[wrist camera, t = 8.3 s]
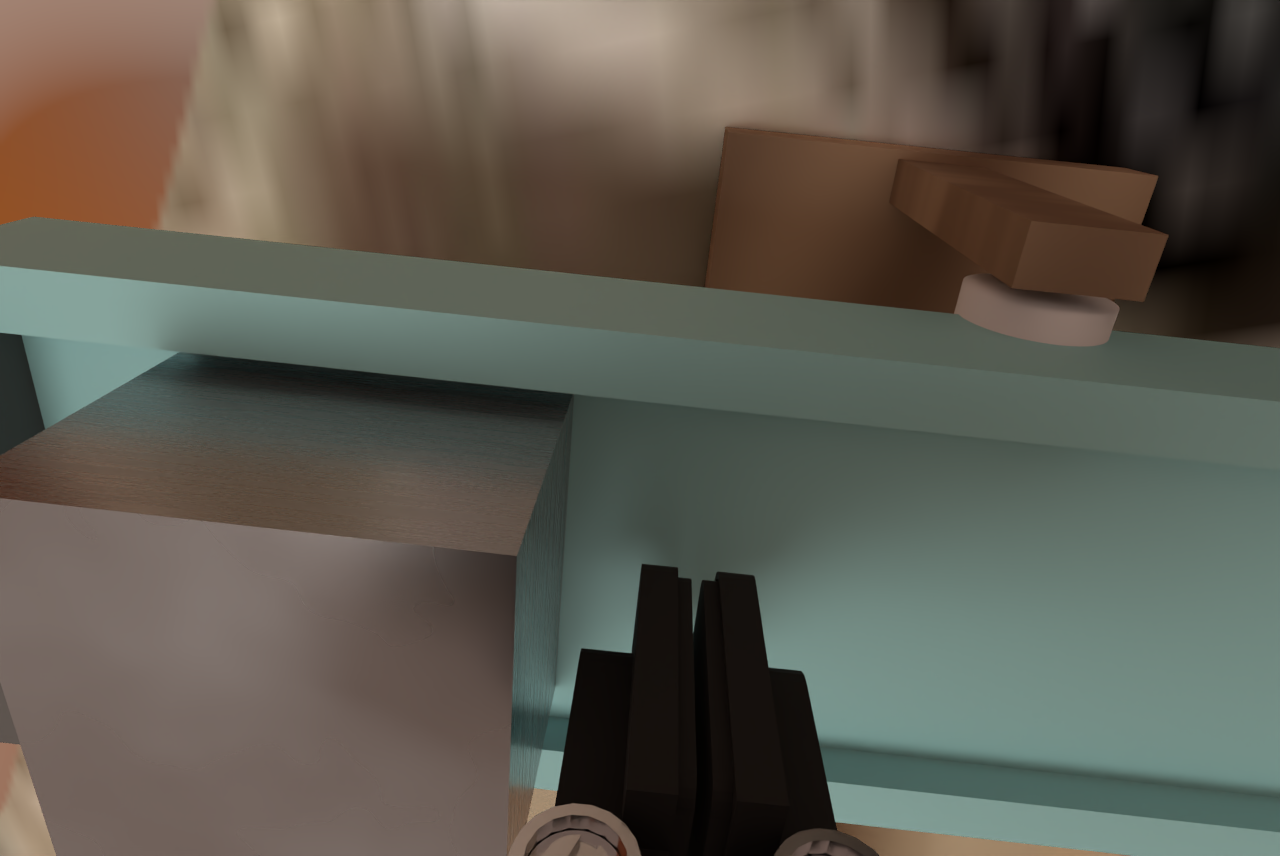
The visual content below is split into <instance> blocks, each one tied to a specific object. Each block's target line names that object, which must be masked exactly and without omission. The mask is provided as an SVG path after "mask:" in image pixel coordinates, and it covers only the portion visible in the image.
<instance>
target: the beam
mask: <svg viewBox="0 0 1280 856" xmlns="http://www.w3.org/2000/svg"><path fill="white" fill-rule="evenodd" d="M1118 313H1119V306H1118V305H1117V304H1116V303H1114V302H1113V301H1111V300H1109V299H1107V298H1102V297H1092V296H1082V295H1072V294H1063V293H1053V292H1043V291H1033V290H1024V289H1014V288H1010V287H1009V286H1007V285H1006V284H1005V283H1003V282H1002V281H1000V280H999V279H997V278H996V277H995V276H993V275H992V274H973V275H969V276H966V277H965V278H964V279H963V282H962V286H961V289H960V293H959V297H958V300H957V304H956V308H955V311H954V314H951V313H941V312H932V311H922V310H913V309H903V308H894V307H885V306H875V305H866V304H856V303H847V302H837V301H828V300H818V299H809V298H799V297H790V296H780V295H771V294H761V293H752V292H742V291H733V290H723V289H714V288H704V287H695V286H685V285H676V284H667V283H657V282H648V281H638V280H629V279H619V278H610V277H600V276H591V275H581V274H572V273H562V272H553V271H543V270H534V269H524V268H515V267H505V266H496V265H486V264H477V263H467V262H458V261H449V260H439V259H430V258H420V257H411V256H401V255H392V254H382V253H373V252H363V251H354V250H344V249H335V248H325V247H316V246H306V245H297V244H287V243H278V242H268V241H259V240H250V239H240V238H231V237H221V236H212V235H202V234H193V233H183V232H174V231H164V230H155V229H144V228H136V227H126V226H117V225H107V224H98V223H88V222H79V221H69V220H60V219H50V218H40V217H31V218H27V219H23V220H19V221H14V222H10V223H6V224H2V225H0V455H2V454H4V453H5V452H7V451H9V450H11V449H12V448H14V447H16V446H17V445H19V444H21V443H23V442H24V441H26V440H28V439H30V438H31V437H33V436H35V435H37V434H38V433H40V432H42V431H43V430H45V429H47V428H49V427H50V426H52V425H54V424H56V423H57V422H59V421H61V420H63V419H64V418H66V417H68V416H69V415H71V414H73V413H75V412H76V411H78V410H80V409H82V408H83V407H85V406H87V405H88V404H90V403H92V402H94V401H95V400H97V399H99V398H101V397H102V396H104V395H106V394H108V393H109V392H111V391H113V390H114V389H116V388H118V387H120V386H121V385H123V384H125V383H127V382H128V381H130V380H132V379H134V378H135V377H137V376H139V375H140V374H142V373H144V372H146V371H147V370H149V369H151V368H153V367H154V366H156V365H158V364H159V363H161V362H163V361H165V360H166V359H168V358H170V357H172V356H173V355H175V354H177V353H179V352H186V353H195V354H205V355H214V356H223V357H233V358H242V359H251V360H261V361H270V362H279V363H289V364H298V365H307V366H317V367H326V368H335V369H345V370H354V371H363V372H373V373H382V374H391V375H400V376H410V377H419V378H428V379H438V380H447V381H456V382H466V383H475V384H484V385H494V386H503V387H512V388H522V389H531V390H540V391H550V392H559V393H568V394H574V405H573V421H572V436H571V452H570V467H569V483H568V499H567V514H566V530H565V545H564V561H563V576H562V592H561V607H560V623H559V638H558V654H557V670H556V685H555V691H554V696H553V701H552V705H551V710H550V715H549V720H548V724H547V729H546V734H545V738H544V743H543V748H542V753H541V757H540V762H539V767H538V771H537V776H536V781H535V785H534V788H538V789H547V790H555V791H558V784H559V778H560V772H561V766H562V760H563V754H564V748H565V742H566V735H567V729H568V723H569V717H570V711H571V705H572V699H573V692H574V686H575V680H576V674H577V668H578V662H579V656H580V651H581V648H585V649H595V650H604V651H614V652H624V653H631V652H632V643H633V634H634V625H635V617H636V608H637V599H638V591H639V582H640V573H641V566H642V564H650V565H660V566H670V567H678V577H681V578H690V579H691V580H692V613H693V632H694V625H695V619H696V612H697V606H698V599H699V593H700V587H701V582H702V580H710V581H715V576H716V573H717V572H728V573H738V574H747V575H754V576H755V580H756V586H757V593H758V600H759V607H760V613H761V620H762V627H763V633H764V640H765V647H766V654H767V660H768V667H769V668H779V669H788V670H798V671H802V672H803V674H804V676H805V679H806V682H807V687H808V692H809V697H810V702H811V706H812V711H813V716H814V721H815V726H816V731H817V735H818V740H819V745H820V750H821V755H822V760H823V765H824V769H825V774H826V779H827V784H828V789H829V794H830V799H831V803H832V808H833V813H834V818H835V822H839V823H848V824H857V825H866V826H874V827H883V828H892V829H901V830H910V831H919V832H928V833H937V834H945V835H954V836H963V837H972V838H981V839H990V840H999V841H1007V842H1016V843H1025V844H1034V845H1043V846H1052V847H1061V848H1069V849H1078V850H1087V851H1096V852H1105V853H1114V854H1123V855H1131V856H1280V348H1273V347H1264V346H1254V345H1245V344H1235V343H1226V342H1216V341H1207V340H1197V339H1188V338H1178V337H1169V336H1159V335H1150V334H1140V333H1131V332H1121V331H1112V329H1113V326H1114V324H1115V321H1116V318H1117V315H1118ZM0 742H3V743H12V744H20V742H19V739H18V736H17V732H16V729H15V726H14V723H13V720H12V717H11V714H10V711H9V708H8V705H7V702H6V699H5V696H4V692H3V689H2V686H1V683H0Z"/></svg>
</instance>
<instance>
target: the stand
mask: <svg viewBox="0 0 1280 856" xmlns="http://www.w3.org/2000/svg"><path fill="white" fill-rule="evenodd" d="M1157 179H1158V176H1156V175H1152V174H1148V173H1144V172H1140V171H1136V170H1132V169H1128V168H1121V167H1112V166H1102V165H1092V164H1082V163H1073V162H1063V161H1053V160H1043V159H1033V158H1024V157H1014V156H1004V155H994V154H985V153H975V152H965V151H955V150H946V149H936V148H926V147H916V146H906V145H897V144H887V143H877V142H867V141H858V140H848V139H838V138H828V137H819V136H809V135H799V134H789V133H779V132H770V131H760V130H750V129H740V128H731V127H725V134H724V141H723V149H722V157H721V165H720V172H719V180H718V188H717V195H716V203H715V211H714V218H713V226H712V234H711V242H710V249H709V257H708V265H707V272H706V280H705V288H714V289H723V290H733V291H742V292H752V293H761V294H771V295H780V296H790V297H799V298H809V299H818V300H828V301H837V302H847V303H856V304H866V305H875V306H885V307H894V308H903V309H913V310H922V311H932V312H941V313H951V314H954V311H955V308H956V304H957V300H958V297H959V293H960V289H961V286H962V282H963V279H964V278H965V277H966V276H969V275H973V274H992V275H993V276H995V277H996V278H997V279H999V280H1000V281H1002V282H1003V283H1005V284H1006V285H1007V286H1009V287H1010V288H1014V289H1024V290H1033V291H1043V292H1053V293H1063V294H1072V295H1082V296H1092V297H1102V298H1107V299H1109V300H1111V301H1113V302H1114V300H1115V299H1121V300H1131V301H1141V302H1144V300H1145V298H1146V295H1147V292H1148V289H1149V287H1150V284H1151V281H1152V279H1153V276H1154V273H1155V271H1156V268H1157V265H1158V263H1159V260H1160V257H1161V255H1162V252H1163V249H1164V247H1165V244H1166V241H1167V239H1168V236H1169V235H1167V234H1165V233H1162V232H1159V231H1156V230H1154V229H1151V228H1148V227H1145V226H1143V225H1141V224H1142V221H1143V218H1144V216H1145V213H1146V210H1147V207H1148V204H1149V202H1150V199H1151V196H1152V193H1153V190H1154V188H1155V185H1156V182H1157Z"/></svg>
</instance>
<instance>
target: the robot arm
mask: <svg viewBox="0 0 1280 856" xmlns="http://www.w3.org/2000/svg"><path fill="white" fill-rule="evenodd" d="M508 856H879V855H878V854H877V853H876V851H875V850H873V849H872V848H870V847H869V846H867V845H866V844H864V843H863V842H861V841H860V840H858V839H857V838H855V837H852V836H850V835H847V834H844V833H842V832H839V831H837V828H836V823H835V818H834V813H833V808H832V803H831V799H830V794H829V789H828V784H827V779H826V774H825V769H824V765H823V760H822V755H821V750H820V745H819V740H818V735H817V731H816V726H815V721H814V716H813V711H812V706H811V702H810V697H809V692H808V687H807V682H806V679H805V676H804V674H803V672H802V671H798V670H788V669H779V668H769V667H768V660H767V654H766V647H765V640H764V633H763V627H762V620H761V613H760V607H759V600H758V593H757V586H756V580H755V576H754V575H747V574H738V573H728V572H717V573H716V576H715V581H710V580H702V582H701V587H700V593H699V599H698V606H697V612H696V619H695V625H694V632H693V613H692V580H691V579H690V578H681V577H678V567H670V566H660V565H650V564H642V566H641V573H640V582H639V591H638V599H637V608H636V617H635V625H634V634H633V643H632V652H631V653H624V652H614V651H604V650H595V649H585V648H581V651H580V656H579V662H578V668H577V674H576V680H575V686H574V692H573V699H572V705H571V711H570V717H569V723H568V729H567V735H566V742H565V748H564V754H563V760H562V766H561V772H560V778H559V784H558V791H557V797H556V803H555V806H554V807H552V808H550V809H548V810H546V811H544V812H541V813H539V814H537V815H536V816H534V817H533V818H532V819H531V820H530V821H529V822H528V823H527V824H526V825H525V826H523V827H522V828H521V830H520V832H519V834H518V835H517V837H516V839H515V841H514V842H513V844H512V846H511V849H510V851H509V854H508Z"/></svg>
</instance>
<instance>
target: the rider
mask: <svg viewBox="0 0 1280 856" xmlns="http://www.w3.org/2000/svg"><path fill="white" fill-rule="evenodd" d="M573 405H574V394H568V393H559V392H550V391H540V390H531V389H522V388H512V387H503V386H494V385H484V384H475V383H466V382H456V381H447V380H438V379H428V378H419V377H410V376H400V375H391V374H382V373H373V372H363V371H354V370H345V369H335V368H326V367H317V366H307V365H298V364H289V363H279V362H270V361H261V360H251V359H242V358H233V357H223V356H214V355H205V354H195V353H186V352H179V353H177V354H175V355H173V356H172V357H170V358H168V359H166V360H165V361H163V362H161V363H159V364H158V365H156V366H154V367H153V368H151V369H149V370H147V371H146V372H144V373H142V374H140V375H139V376H137V377H135V378H134V379H132V380H130V381H128V382H127V383H125V384H123V385H121V386H120V387H118V388H116V389H114V390H113V391H111V392H109V393H108V394H106V395H104V396H102V397H101V398H99V399H97V400H95V401H94V402H92V403H90V404H88V405H87V406H85V407H83V408H82V409H80V410H78V411H76V412H75V413H73V414H71V415H69V416H68V417H66V418H64V419H63V420H61V421H59V422H57V423H56V424H54V425H52V426H50V427H49V428H47V429H45V430H43V431H42V432H40V433H38V434H37V435H35V436H33V437H31V438H30V439H28V440H26V441H24V442H23V443H21V444H19V445H17V446H16V447H14V448H12V449H11V450H9V451H7V452H5V453H4V454H2V455H0V683H1V686H2V689H3V692H4V696H5V699H6V702H7V705H8V708H9V711H10V714H11V717H12V720H13V723H14V726H15V729H16V732H17V736H18V739H19V742H20V745H21V748H22V751H23V754H24V757H25V760H26V763H27V766H28V769H29V772H30V776H31V779H32V782H33V785H34V788H35V791H36V794H37V797H38V800H39V803H40V806H41V809H42V812H43V816H44V819H45V822H46V825H47V828H48V831H49V834H50V837H51V840H52V843H53V846H54V849H55V852H56V856H508V854H509V851H510V849H511V846H512V844H513V842H514V841H515V839H516V837H517V835H518V834H519V832H520V830H521V828H522V827H523V826H525V825H526V823H527V818H528V814H529V809H530V804H531V800H532V795H533V790H534V785H535V781H536V776H537V771H538V767H539V762H540V757H541V753H542V748H543V743H544V738H545V734H546V729H547V724H548V720H549V715H550V710H551V705H552V701H553V696H554V691H555V685H556V670H557V654H558V638H559V623H560V607H561V592H562V576H563V561H564V545H565V530H566V514H567V499H568V483H569V467H570V452H571V436H572V421H573Z"/></svg>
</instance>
